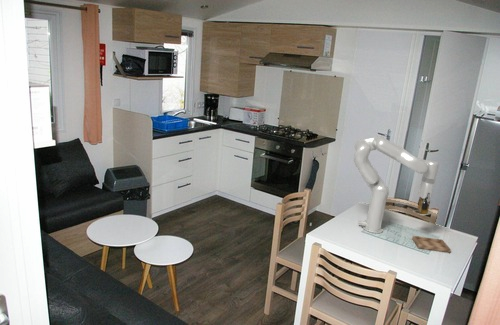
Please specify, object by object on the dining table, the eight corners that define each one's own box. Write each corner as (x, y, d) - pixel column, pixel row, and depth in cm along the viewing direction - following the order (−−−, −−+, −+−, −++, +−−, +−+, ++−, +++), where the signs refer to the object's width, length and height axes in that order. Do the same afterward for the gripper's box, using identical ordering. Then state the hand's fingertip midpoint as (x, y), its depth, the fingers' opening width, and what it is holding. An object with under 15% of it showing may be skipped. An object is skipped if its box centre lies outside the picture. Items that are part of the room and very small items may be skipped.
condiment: (430, 214, 247) (434, 196, 244) (422, 215, 242) (426, 197, 239) (419, 210, 253) (423, 192, 250) (412, 211, 248) (416, 193, 245)
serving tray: (418, 248, 233) (419, 244, 232) (412, 239, 245) (412, 235, 244) (449, 252, 231) (450, 249, 231) (441, 243, 244) (442, 239, 243)
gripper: (417, 175, 251) (411, 202, 255) (427, 183, 234) (420, 211, 239) (429, 177, 251) (423, 203, 255) (439, 185, 234) (433, 213, 238)
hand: (422, 207), depth 247 cm, fingers closed on condiment, 6 cm apart
